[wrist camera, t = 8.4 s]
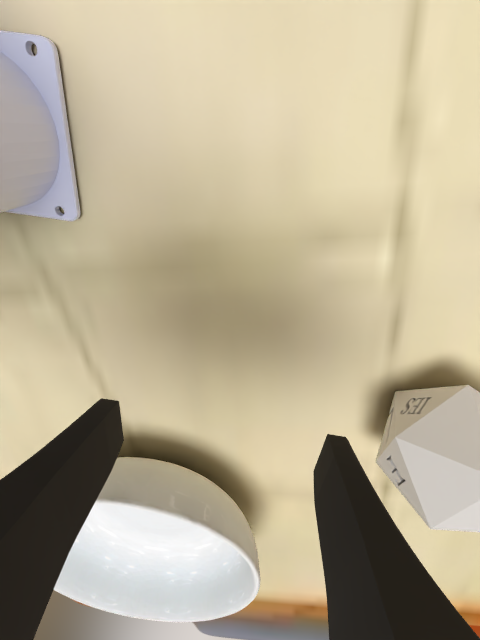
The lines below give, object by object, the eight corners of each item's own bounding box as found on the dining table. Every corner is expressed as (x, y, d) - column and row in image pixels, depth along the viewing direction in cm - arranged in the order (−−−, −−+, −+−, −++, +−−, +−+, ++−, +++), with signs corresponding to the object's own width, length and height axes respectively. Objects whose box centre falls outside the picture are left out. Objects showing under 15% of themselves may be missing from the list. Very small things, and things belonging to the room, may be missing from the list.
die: (427, 330, 21) (368, 461, 16) (599, 398, 17) (585, 592, 12) (393, 388, 27) (344, 494, 23) (513, 446, 23) (483, 586, 19)
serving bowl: (200, 564, 39) (187, 641, 34) (36, 498, 35) (-12, 571, 29) (307, 489, 30) (315, 579, 24) (97, 384, 25) (42, 461, 19)
